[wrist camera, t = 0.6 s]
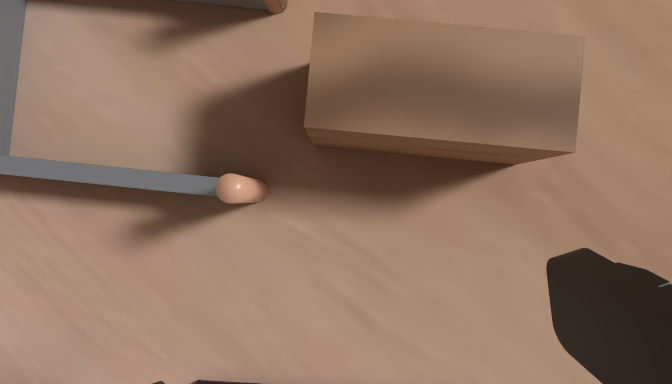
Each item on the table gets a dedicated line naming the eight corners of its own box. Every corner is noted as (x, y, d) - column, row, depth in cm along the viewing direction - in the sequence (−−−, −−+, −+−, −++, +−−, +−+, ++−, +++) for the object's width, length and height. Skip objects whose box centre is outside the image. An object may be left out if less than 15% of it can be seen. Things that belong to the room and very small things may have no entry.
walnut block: (321, 59, 35) (314, 12, 26) (522, 78, 35) (585, 36, 26) (313, 145, 35) (303, 127, 26) (515, 164, 35) (574, 152, 26)
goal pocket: (13, -36, 35) (-83, -104, 27) (288, -9, 35) (272, -70, 27) (-11, 174, 35) (-115, 167, 27) (266, 203, 35) (243, 204, 27)
